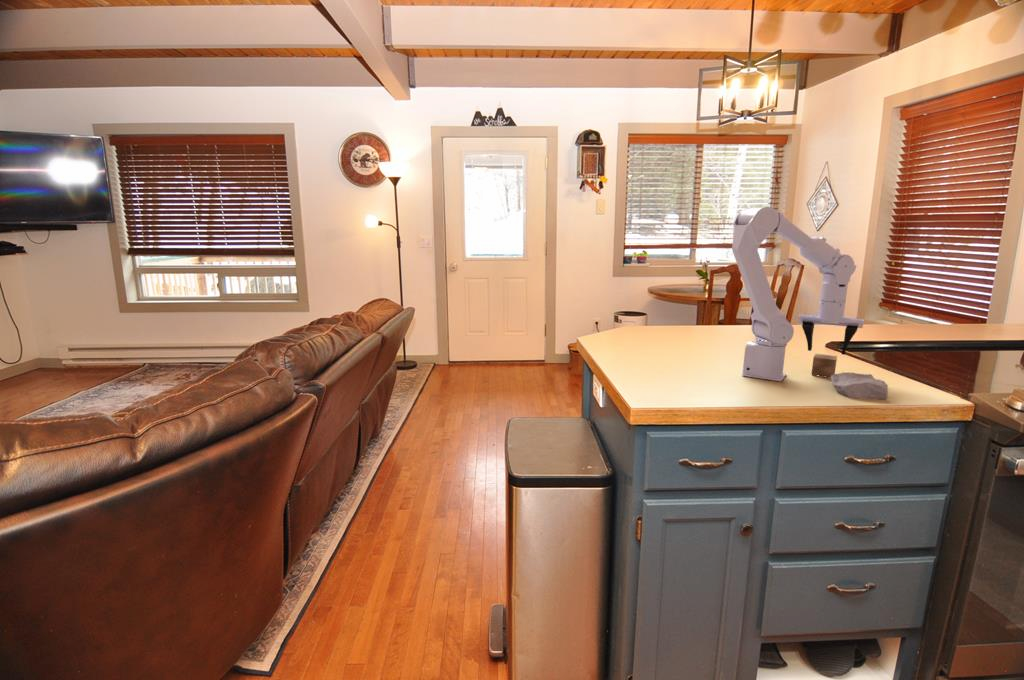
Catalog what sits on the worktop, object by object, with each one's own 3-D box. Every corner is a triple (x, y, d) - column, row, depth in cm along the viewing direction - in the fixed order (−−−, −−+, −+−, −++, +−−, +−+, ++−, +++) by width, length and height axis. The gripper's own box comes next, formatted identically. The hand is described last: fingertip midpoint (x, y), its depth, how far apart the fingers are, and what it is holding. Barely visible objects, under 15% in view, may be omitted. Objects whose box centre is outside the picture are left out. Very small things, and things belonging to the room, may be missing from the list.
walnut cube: (811, 375, 140) (813, 357, 139) (813, 371, 144) (815, 353, 143) (833, 378, 137) (835, 360, 136) (834, 374, 141) (837, 356, 140)
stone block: (843, 405, 122) (892, 400, 120) (841, 385, 122) (890, 379, 119) (825, 392, 134) (869, 386, 131) (823, 373, 133) (867, 368, 131)
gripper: (866, 301, 135) (859, 352, 138) (802, 296, 143) (797, 345, 146) (865, 304, 130) (858, 357, 132) (799, 300, 138) (793, 350, 141)
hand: (826, 351), depth 139 cm, fingers open, 7 cm apart
